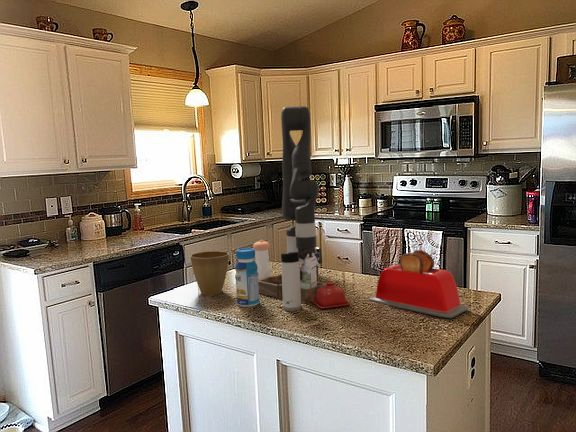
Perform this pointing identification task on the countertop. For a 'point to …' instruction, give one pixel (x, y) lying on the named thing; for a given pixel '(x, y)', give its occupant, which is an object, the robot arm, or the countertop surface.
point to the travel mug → (291, 281)
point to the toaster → (419, 287)
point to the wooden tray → (274, 288)
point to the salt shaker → (262, 259)
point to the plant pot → (210, 271)
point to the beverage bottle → (246, 278)
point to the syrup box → (309, 273)
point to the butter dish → (330, 296)
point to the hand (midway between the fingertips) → (307, 278)
